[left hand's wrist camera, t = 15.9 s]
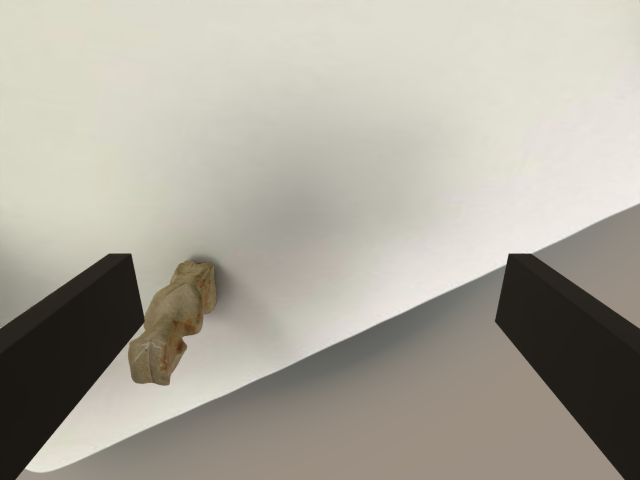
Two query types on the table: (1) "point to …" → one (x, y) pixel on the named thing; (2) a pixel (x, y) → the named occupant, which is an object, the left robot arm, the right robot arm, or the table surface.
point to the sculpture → (172, 322)
